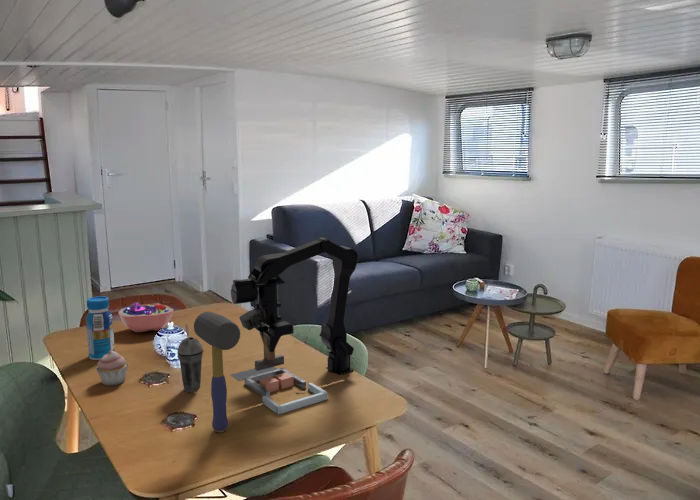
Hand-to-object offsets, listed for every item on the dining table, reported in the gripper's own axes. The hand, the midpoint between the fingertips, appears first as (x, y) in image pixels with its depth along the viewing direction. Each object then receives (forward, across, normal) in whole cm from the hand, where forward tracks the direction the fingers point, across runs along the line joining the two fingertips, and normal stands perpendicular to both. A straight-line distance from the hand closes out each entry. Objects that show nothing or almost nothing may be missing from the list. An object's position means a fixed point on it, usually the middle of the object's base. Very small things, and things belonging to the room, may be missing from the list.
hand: (269, 350), depth 174 cm
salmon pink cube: (+11, +4, +2) cm, 12 cm away
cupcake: (+10, -29, -37) cm, 48 cm away
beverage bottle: (+10, -53, -34) cm, 64 cm away
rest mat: (+10, -9, 0) cm, 14 cm away
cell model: (+11, -71, -13) cm, 73 cm away
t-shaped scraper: (+5, 0, 0) cm, 5 cm away
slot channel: (+10, +4, 0) cm, 11 cm away
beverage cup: (+11, -10, -20) cm, 25 cm away
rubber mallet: (+11, +18, -24) cm, 32 cm away
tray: (+10, +14, 0) cm, 18 cm away
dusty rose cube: (+11, +4, -3) cm, 12 cm away
